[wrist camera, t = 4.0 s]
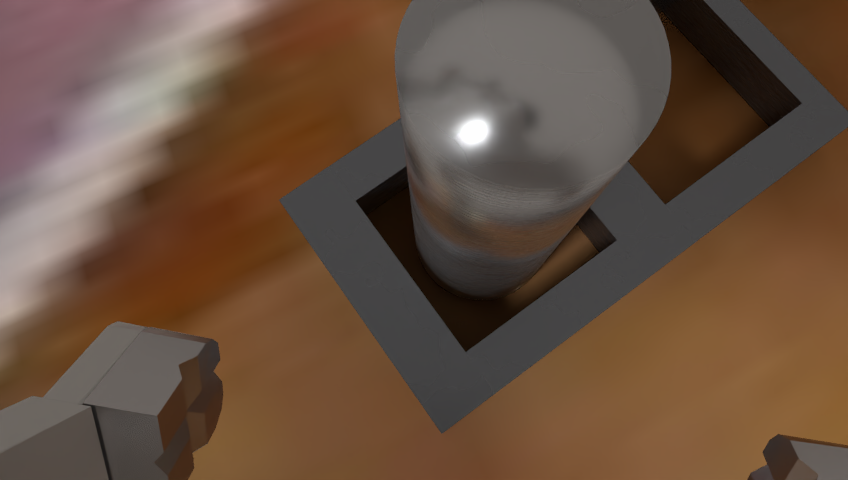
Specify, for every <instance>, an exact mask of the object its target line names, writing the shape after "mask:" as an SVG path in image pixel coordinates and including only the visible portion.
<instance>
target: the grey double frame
mask: <svg viewBox="0 0 848 480" xmlns="http://www.w3.org/2000/svg"><path fill="white" fill-rule="evenodd" d="M649 1H650V2H651V4H652V5H653V7H654V9H655V10H656V12H657V14H659V13H660V12H663V13H664V14H665V15H666V16H667V17H668V18H669V19H670V20H671V21H672V22H673V23H674V25H675V26H676V27H677V28H678V29H679V30H680V31H681V32H682V33H683V34H684V35H685V36H686V37H687V38H688V40H689V41H690V42H691V43H692V44H693V45H694V46H695V47H696V48H697V49H698V50H699V51H700V52H701V53H702V55H703V56H704V57H705V58H706V59H707V60H708V61H709V62H710V63H711V64H712V65H713V66H714V67H715V68H716V70H717V71H718V72H719V73H720V74H721V75H722V76H723V77H724V78H725V79H726V80H727V81H728V82H729V83H730V85H731V86H732V87H733V88H734V89H735V90H736V91H737V92H738V93H739V94H740V95H741V96H742V97H743V98H744V100H745V101H746V102H747V103H748V104H749V105H750V106H751V107H752V108H753V109H754V110H755V111H756V112H757V114H758V115H759V116H760V117H761V118H762V119H763V120H764V121H765V122H766V123H767V124H768V125H769V126H770V127H769V128H768V129H767V130H765V131H764V132H763V133H761V134H760V135H759V136H757V137H756V138H755V139H753V140H752V141H751V142H749V143H748V144H746V145H745V146H744V147H742V148H741V149H740V150H738V151H737V152H736V153H734V154H733V155H732V156H730V157H729V158H728V159H726V160H725V161H724V162H722V163H721V164H719V165H718V166H717V167H715V168H714V169H713V170H711V171H710V172H709V173H707V174H706V175H705V176H703V177H702V178H701V179H699V180H698V181H696V182H695V183H694V184H692V185H691V186H690V187H688V188H687V189H686V190H684V191H683V192H682V193H680V194H679V195H678V196H676V197H675V198H673V199H672V200H671V201H669V202H668V203H667V204H664V203H663V202H662V200H661V199H660V198H659V197H658V196H657V195H656V193H655V192H654V191H653V190H652V189H651V188H650V186H649V185H648V184H647V183H646V182H645V181H644V179H643V178H642V177H641V176H640V175H639V174H638V172H637V171H636V170H635V169H634V168H633V167H632V165H631V164H630V163H629V162H627V163H626V164H625V165H624V166H623V168H622V169H621V170H620V171H619V172H618V174H617V175H616V176H615V177H614V179H613V180H612V181H611V182H610V183H609V185H608V186H607V187H606V188H605V189H604V191H603V192H602V193H601V194H600V195H599V197H598V198H597V199H596V200H595V201H594V203H593V204H592V205H591V206H590V208H589V209H588V210H587V211H586V212H585V214H584V215H583V216H582V217H581V218H580V220H579V221H578V222H577V223H576V224H577V225H578V226H579V227H580V229H581V230H582V231H583V232H584V234H585V235H586V236H587V237H588V238H589V240H590V241H591V242H592V243H593V245H594V246H595V247H596V248H597V250H598V251H599V252H600V253H599V254H598V255H596V256H595V257H594V258H592V259H591V260H590V261H588V262H587V263H586V264H584V265H583V266H582V267H580V268H579V269H578V270H576V271H575V272H573V273H572V274H571V275H569V276H568V277H567V278H565V279H564V280H563V281H561V282H560V283H559V284H557V285H556V286H555V287H553V288H552V289H550V290H549V291H548V292H546V293H545V294H544V295H542V296H541V297H540V298H538V299H537V300H536V301H534V302H533V303H532V304H530V305H529V306H527V307H526V308H525V309H523V310H522V311H521V312H519V313H518V314H517V315H515V316H514V317H513V318H511V319H510V320H509V321H507V322H506V323H505V324H503V325H502V326H500V327H499V328H498V329H496V330H495V331H494V332H492V333H491V334H490V335H488V336H487V337H486V338H484V339H483V340H482V341H480V342H479V343H477V344H476V345H475V346H473V347H472V348H471V349H469V350H468V351H467V352H465V351H464V349H463V348H462V347H461V345H460V344H459V342H458V341H457V340H456V338H455V337H454V336H453V334H452V333H451V331H450V330H449V329H448V327H447V326H446V325H445V323H444V322H443V320H442V319H441V318H440V316H439V315H438V314H437V312H436V311H435V309H434V308H433V307H432V305H431V304H430V303H429V301H428V300H427V298H426V297H425V296H424V294H423V293H422V292H421V290H420V289H419V287H418V286H417V285H416V283H415V282H414V281H413V279H412V278H411V276H410V275H409V274H408V272H407V271H406V270H405V268H404V267H403V265H402V264H401V263H400V261H399V260H398V259H397V257H396V256H395V254H394V253H393V252H392V250H391V249H390V248H389V246H388V245H387V244H386V242H385V241H384V239H383V238H382V237H381V235H380V234H379V233H378V231H377V230H376V228H375V227H374V226H373V224H372V223H371V222H370V220H369V219H368V217H367V216H366V215H367V214H368V213H370V212H371V211H373V210H374V209H376V208H377V207H379V206H380V205H382V204H383V203H384V202H386V201H387V200H389V199H390V198H392V197H393V196H395V195H396V194H398V193H399V192H400V191H402V190H403V189H405V188H406V187H408V186H409V182H408V174H407V166H406V157H405V149H404V140H403V132H402V124H401V118H400V119H399V120H397V121H396V122H394V123H393V124H391V125H390V126H388V127H387V128H385V129H384V130H382V131H381V132H380V133H378V134H377V135H375V136H374V137H372V138H371V139H369V140H368V141H366V142H365V143H363V144H362V145H360V146H359V147H357V148H356V149H354V150H353V151H351V152H350V153H348V154H347V155H345V156H344V157H342V158H341V159H339V160H338V161H336V162H335V163H333V164H332V165H330V166H329V167H327V168H326V169H324V170H323V171H321V172H320V173H318V174H317V175H315V176H314V177H312V178H311V179H309V180H308V181H306V182H305V183H303V184H302V185H300V186H299V187H297V188H296V189H294V190H293V191H292V192H290V193H289V194H287V195H286V196H284V197H283V198H281V199H280V202H281V203H282V205H283V206H284V208H285V209H286V211H287V212H288V213H289V215H290V216H291V218H292V219H293V221H294V222H295V223H296V225H297V226H298V228H299V229H300V231H301V232H302V234H303V235H304V236H305V238H306V239H307V241H308V242H309V244H310V245H311V246H312V248H313V249H314V251H315V252H316V254H317V255H318V257H319V258H320V259H321V261H322V262H323V264H324V265H325V267H326V268H327V269H328V271H329V272H330V274H331V275H332V277H333V278H334V280H335V281H336V282H337V284H338V285H339V287H340V288H341V290H342V291H343V292H344V294H345V295H346V297H347V298H348V300H349V301H350V302H351V304H352V305H353V307H354V308H355V310H356V311H357V313H358V314H359V315H360V317H361V318H362V320H363V321H364V323H365V324H366V325H367V327H368V328H369V330H370V331H371V333H372V334H373V336H374V337H375V338H376V340H377V341H378V343H379V344H380V346H381V347H382V348H383V350H384V351H385V353H386V354H387V356H388V357H389V359H390V360H391V361H392V363H393V364H394V366H395V367H396V369H397V370H398V371H399V373H400V374H401V376H402V377H403V379H404V380H405V382H406V383H407V384H408V386H409V387H410V389H411V390H412V392H413V393H414V394H415V396H416V397H417V399H418V400H419V402H420V403H421V405H422V406H423V407H424V409H425V410H426V412H427V413H428V415H429V416H430V417H431V419H432V420H433V422H434V423H435V425H436V426H437V427H438V429H439V430H440V432H441V433H443V432H445V431H446V430H447V429H449V428H450V427H451V426H453V425H454V424H455V423H457V422H458V421H459V420H461V419H462V418H463V417H465V416H466V415H467V414H469V413H470V412H471V411H473V410H474V409H475V408H477V407H478V406H479V405H481V404H482V403H483V402H484V401H486V400H487V399H488V398H490V397H491V396H492V395H494V394H495V393H496V392H498V391H499V390H500V389H502V388H503V387H504V386H506V385H507V384H508V383H510V382H511V381H512V380H514V379H515V378H516V377H518V376H519V375H520V374H522V373H523V372H524V371H526V370H527V369H528V368H529V367H531V366H532V365H533V364H535V363H536V362H537V361H539V360H540V359H541V358H543V357H544V356H545V355H547V354H548V353H549V352H551V351H552V350H553V349H555V348H556V347H557V346H559V345H560V344H561V343H563V342H564V341H565V340H567V339H568V338H569V337H571V336H572V335H573V334H574V333H576V332H577V331H578V330H580V329H581V328H582V327H584V326H585V325H586V324H588V323H589V322H590V321H592V320H593V319H594V318H596V317H597V316H598V315H600V314H601V313H602V312H604V311H605V310H606V309H608V308H609V307H610V306H612V305H613V304H614V303H616V302H617V301H618V300H619V299H621V298H622V297H623V296H625V295H626V294H627V293H629V292H630V291H631V290H633V289H634V288H635V287H637V286H638V285H639V284H641V283H642V282H643V281H645V280H646V279H647V278H649V277H650V276H651V275H653V274H654V273H655V272H657V271H658V270H659V269H661V268H662V267H663V266H664V265H666V264H667V263H668V262H670V261H671V260H672V259H674V258H675V257H676V256H678V255H679V254H680V253H682V252H683V251H684V250H686V249H687V248H688V247H690V246H691V245H692V244H694V243H695V242H696V241H698V240H699V239H700V238H702V237H703V236H704V235H705V234H707V233H708V232H709V231H711V230H712V229H713V228H715V227H716V226H717V225H719V224H720V223H721V222H723V221H724V220H725V219H727V218H728V217H729V216H731V215H732V214H733V213H735V212H736V211H737V210H739V209H740V208H741V207H743V206H744V205H745V204H747V203H748V202H749V201H750V200H752V199H753V198H754V197H756V196H757V195H758V194H760V193H761V192H762V191H764V190H765V189H766V188H768V187H769V186H770V185H772V184H773V183H774V182H776V181H777V180H778V179H780V178H781V177H782V176H784V175H785V174H786V173H788V172H789V171H790V170H792V169H793V168H794V167H795V166H797V165H798V164H799V163H801V162H802V161H803V160H805V159H806V158H807V157H809V156H810V155H811V154H813V153H814V152H815V151H817V150H818V149H819V148H821V147H822V146H823V145H825V144H826V143H827V142H829V141H830V140H831V139H833V138H834V137H835V136H837V135H838V134H839V133H840V132H842V131H843V130H844V129H846V128H847V127H848V111H847V110H846V109H845V108H844V107H843V106H842V105H841V104H840V103H839V102H838V101H837V100H836V99H835V98H834V97H833V96H832V95H831V94H830V93H829V92H828V91H827V90H826V89H825V88H824V87H823V86H822V84H821V83H820V82H819V81H818V80H817V79H816V78H815V77H814V76H813V75H812V74H811V73H810V72H809V71H808V70H807V69H806V68H805V67H804V66H803V65H802V64H801V63H800V62H799V61H798V60H797V59H796V58H795V57H794V56H793V55H792V54H791V53H790V52H789V51H788V50H787V49H786V48H785V46H784V45H783V44H782V43H781V42H780V41H779V40H778V39H777V38H776V37H775V36H774V35H773V34H772V33H771V32H770V31H769V30H768V29H767V28H766V27H765V26H764V25H763V24H762V23H761V22H760V21H759V20H758V19H757V18H756V17H755V16H754V15H753V14H752V13H751V12H750V11H749V10H748V9H747V7H746V6H745V5H744V4H743V3H742V2H741V1H740V0H649Z"/></svg>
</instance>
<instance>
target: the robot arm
mask: <svg viewBox="0 0 848 480" xmlns="http://www.w3.org/2000/svg"><path fill="white" fill-rule="evenodd" d="M219 361H220V354H219V347H218V342H216V341H214V340H213V339H209V338H204V337H199V336H194V335H189V334H184V333H178V332H173V331H168V330H163V329H158V328H153V327H149V328H148V327H143V326H138V325H133V324H128V323H123V322H116V323H113V324H111V325H109V326H108V327H106V328H105V330H104V331H103V332H102V333H101V334H100V335H99V336H98V337H97V338H96V339H95V341H94V342H93V343H92V344H91V345H90V346H89V347H88V348H87V349H86V350H85V352H84V353H83V354H82V355H81V356H80V357H79V358H78V359H77V360H76V361H75V363H74V364H73V365H72V366H71V367H70V368H69V369H68V370H67V371H66V372H65V374H64V375H63V376H62V377H61V378H60V379H59V380H58V381H57V382H56V383H55V385H54V386H53V387H52V388H51V389H50V390H49V391H48V392H47V393H46V394H45V396H44V397H43V398H42V397H35V396H31V397H29V398H27V399H25V400H23V401H20V402H18V403H16V404H14V405H11V406H9V407H7V408H5V409H3V410H0V480H188V478H189V477H190V475H191V473H192V471H193V469H194V462H193V454H192V453H193V452H194V451H196V450H198V449H199V448H201V447H202V446H204V445H206V444H207V443H208V442H209V440H210V438H211V436H212V434H213V432H214V430H215V428H216V425H217V422H218V419H219V415H220V412H221V409H222V400H223V386H222V381H221V380H220V379H219V377H218V376H217V375H216V374H215V373H214V369H215V367H216V366H217V364H218V362H219ZM763 454H764V457H765V459H766V462H767V465H765V466H763V467H761V468H759V469H758V470H756V471H754V472H752V473H750V475H749V478H748V480H848V445H843V444H836V443H830V442H824V441H818V440H811V439H805V438H799V437H793V436H786V435H780V434H778V435H777V436H775V437H774V438H772V439H771V440H769V442H768V444H767V446H766V447H765V449H764V451H763Z"/></svg>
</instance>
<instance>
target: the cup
mask: <svg viewBox="0 0 848 480" xmlns="http://www.w3.org/2000/svg"><path fill="white" fill-rule="evenodd" d="M395 73H396V81H397V90H398V98H399V107H400V115H401V124H402V132H403V140H404V149H405V157H406V166H407V174H408V182H409V191H410V199H411V208H412V216H413V225H414V233H415V241H416V248H417V252H418V255H419V259H420V261H421V263H422V265H423V267H424V268H425V270H426V272H427V273H428V274H429V276H430V277H431V278H432V279H433V280H434V281H435V282H436V283H437V284H438V285H439V286H441V287H442V288H444V289H445V290H446V291H448V292H450V293H452V294H454V295H457V296H459V297H462V298H466V299H471V300H492V299H498V298H501V297H504V296H507V295H509V294H511V293H513V292H515V291H516V290H518V289H520V288H521V287H522V286H523V285H525V284H526V283H527V282H528V281H529V280H530V279H531V277H532V276H533V275H534V274H535V273H536V272H537V270H538V269H539V268H540V267H541V266H542V264H543V263H544V262H545V261H546V259H547V258H548V257H549V256H550V255H551V253H552V252H553V251H554V250H555V249H556V247H557V246H558V245H559V244H560V243H561V241H562V240H563V239H564V238H565V237H566V235H567V234H568V233H569V232H570V230H571V229H572V228H573V227H574V226H575V224H576V223H577V222H578V221H579V220H580V218H581V217H582V216H583V215H584V214H585V212H586V211H587V210H588V209H589V208H590V206H591V205H592V204H593V203H594V201H595V200H596V199H597V198H598V197H599V195H600V194H601V193H602V192H603V191H604V189H605V188H606V187H607V186H608V185H609V183H610V182H611V181H612V180H613V179H614V177H615V176H616V175H617V174H618V172H619V171H620V170H621V169H622V168H623V166H624V165H625V164H626V163H627V162H628V160H629V159H630V158H631V157H632V156H633V154H634V153H635V152H636V151H637V150H638V148H639V147H640V146H641V145H642V143H643V142H644V141H645V140H646V139H647V137H648V136H649V134H650V133H651V131H652V130H653V128H654V127H655V125H656V124H657V122H658V120H659V118H660V116H661V114H662V111H663V109H664V107H665V103H666V100H667V97H668V93H669V88H670V81H671V56H670V49H669V43H668V40H667V36H666V33H665V29H664V27H663V25H662V22H661V20H660V18H659V16H658V14H657V12H656V10H655V9H654V7H653V5H652V4H651V2H650V1H649V0H412V2H411V3H410V5H409V7H408V8H407V10H406V13H405V15H404V18H403V20H402V22H401V25H400V29H399V32H398V36H397V41H396V50H395Z"/></svg>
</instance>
